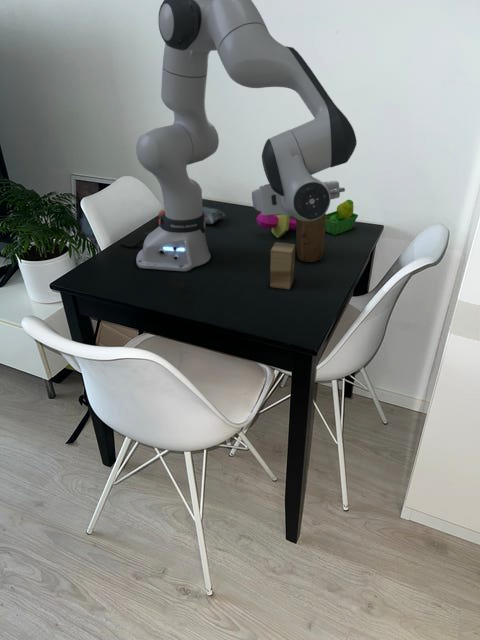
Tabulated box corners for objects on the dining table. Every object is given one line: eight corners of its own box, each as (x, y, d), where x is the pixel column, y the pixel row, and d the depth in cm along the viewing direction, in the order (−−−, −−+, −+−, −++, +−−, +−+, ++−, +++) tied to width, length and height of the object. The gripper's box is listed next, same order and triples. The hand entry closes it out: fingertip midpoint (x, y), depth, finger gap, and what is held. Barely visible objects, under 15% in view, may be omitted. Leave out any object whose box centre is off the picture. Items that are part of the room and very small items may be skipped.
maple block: (289, 289, 138) (291, 252, 132) (270, 287, 139) (270, 250, 133) (293, 280, 142) (295, 244, 136) (274, 278, 144) (275, 242, 138)
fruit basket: (340, 222, 178) (343, 191, 172) (360, 230, 172) (364, 197, 166) (318, 230, 172) (320, 198, 166) (337, 238, 167) (340, 205, 160)
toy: (310, 241, 167) (314, 210, 166) (261, 233, 160) (265, 200, 159) (295, 242, 176) (299, 212, 175) (248, 234, 169) (252, 203, 168)
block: (323, 263, 151) (329, 198, 141) (298, 264, 151) (302, 199, 140) (316, 248, 160) (320, 185, 150) (292, 249, 160) (295, 186, 149)
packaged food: (213, 229, 175) (212, 215, 172) (184, 223, 180) (183, 209, 177) (226, 221, 181) (225, 207, 179) (198, 215, 186) (197, 202, 184)
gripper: (346, 174, 110) (332, 173, 123) (252, 187, 110) (249, 184, 123) (348, 204, 112) (334, 200, 125) (256, 216, 112) (252, 211, 125)
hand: (291, 192), depth 124 cm, fingers open, 8 cm apart
